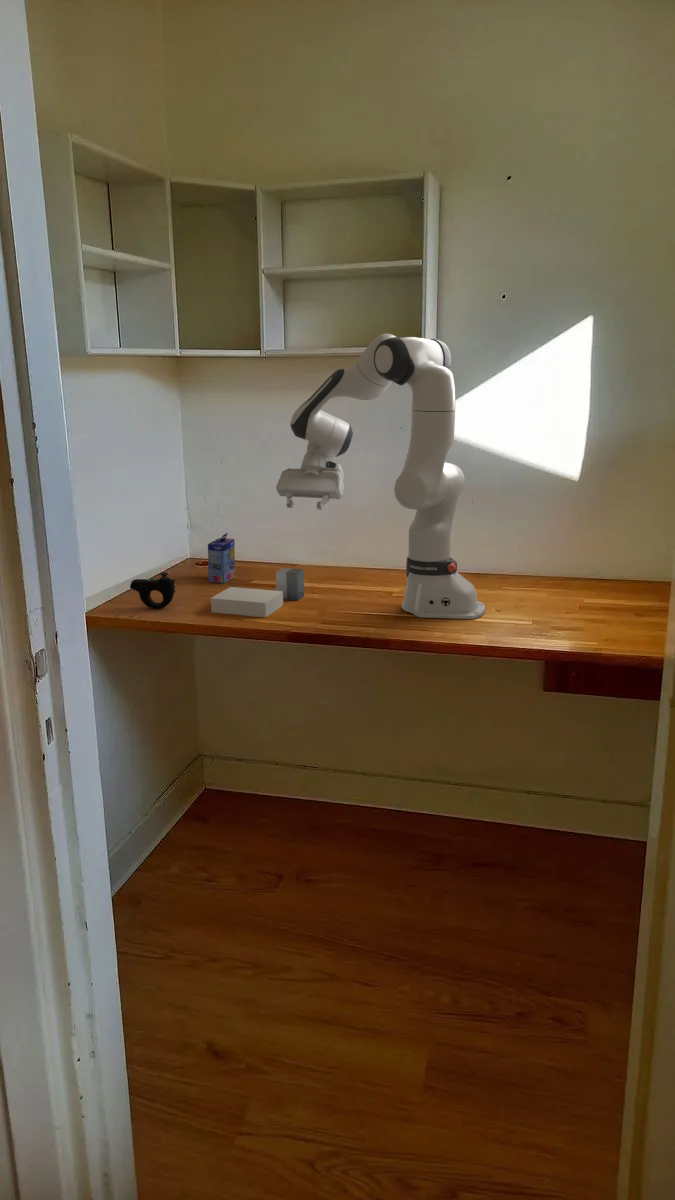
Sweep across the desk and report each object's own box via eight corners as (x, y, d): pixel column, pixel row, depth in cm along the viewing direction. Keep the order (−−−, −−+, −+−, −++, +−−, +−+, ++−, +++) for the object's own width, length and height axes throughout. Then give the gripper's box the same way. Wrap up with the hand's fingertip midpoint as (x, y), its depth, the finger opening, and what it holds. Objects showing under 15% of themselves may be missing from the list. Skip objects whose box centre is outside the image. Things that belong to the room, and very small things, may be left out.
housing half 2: (304, 596, 244) (303, 569, 241) (297, 600, 239) (297, 573, 237) (293, 595, 245) (293, 568, 242) (287, 599, 240) (286, 572, 238)
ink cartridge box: (225, 583, 258) (223, 537, 254) (208, 583, 259) (205, 536, 255) (236, 576, 267) (234, 530, 263) (220, 575, 268) (217, 530, 264)
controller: (174, 610, 231) (171, 575, 228) (130, 609, 232) (127, 574, 229) (178, 606, 235) (176, 571, 232) (135, 605, 236) (132, 570, 233)
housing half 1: (293, 595, 245) (292, 568, 242) (287, 599, 240) (286, 572, 238) (283, 594, 246) (282, 567, 243) (276, 598, 241) (275, 571, 239)
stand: (283, 605, 235) (282, 591, 234) (265, 617, 224) (265, 602, 223) (230, 600, 240) (230, 586, 239) (211, 612, 229) (210, 598, 228)
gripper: (280, 461, 254) (268, 499, 247) (344, 464, 247) (334, 503, 241) (286, 474, 259) (274, 511, 253) (349, 477, 253) (339, 515, 246)
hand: (304, 507), depth 247 cm, fingers open, 8 cm apart
